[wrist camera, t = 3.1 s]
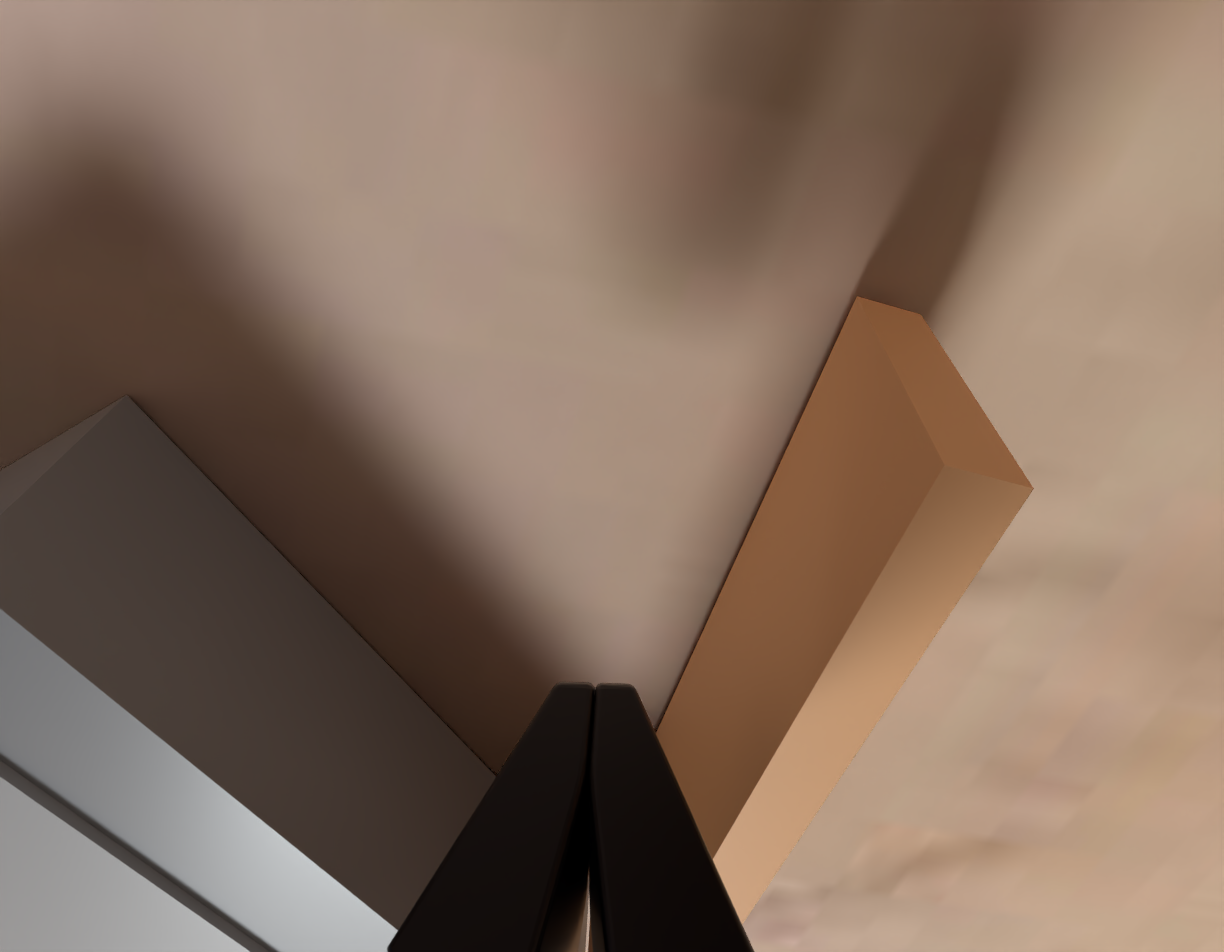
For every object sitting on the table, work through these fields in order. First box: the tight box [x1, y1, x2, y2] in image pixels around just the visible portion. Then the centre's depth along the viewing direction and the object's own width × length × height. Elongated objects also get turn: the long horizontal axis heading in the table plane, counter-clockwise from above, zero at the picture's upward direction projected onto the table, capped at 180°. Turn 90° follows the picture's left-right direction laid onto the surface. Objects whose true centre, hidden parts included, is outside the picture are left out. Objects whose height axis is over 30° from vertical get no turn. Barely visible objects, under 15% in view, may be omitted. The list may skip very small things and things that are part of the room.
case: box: [0, 395, 589, 952], centre depth 15 cm, size 16×12×4 cm
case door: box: [588, 296, 1034, 952], centre depth 12 cm, size 1×12×4 cm, turn 165°
